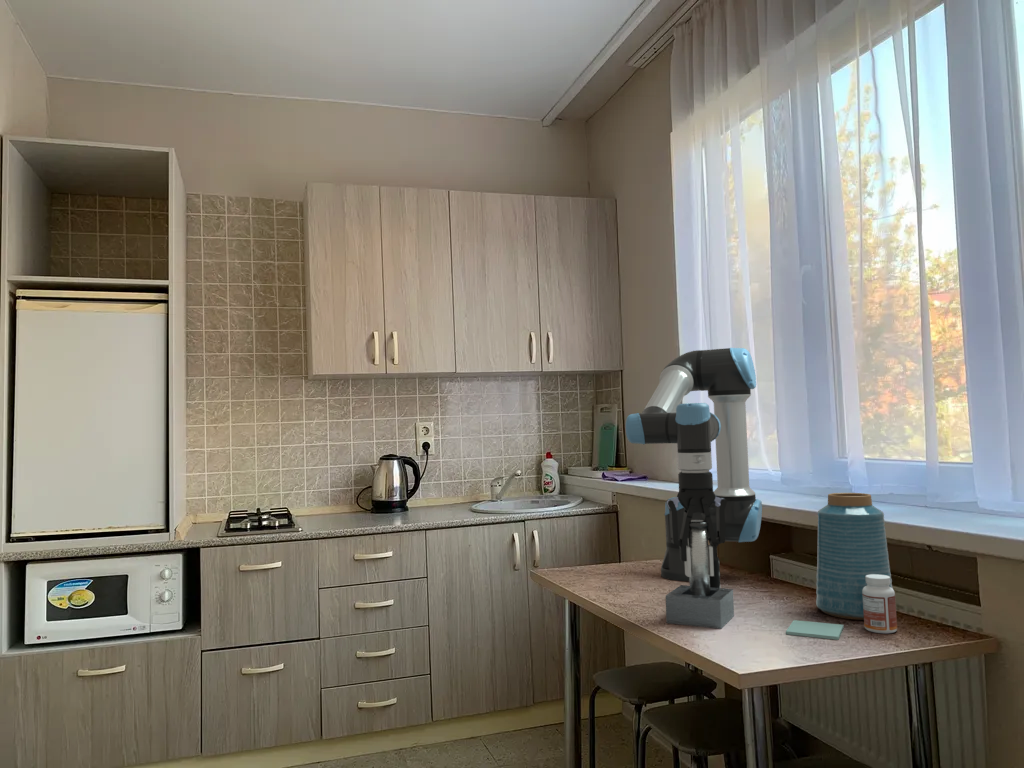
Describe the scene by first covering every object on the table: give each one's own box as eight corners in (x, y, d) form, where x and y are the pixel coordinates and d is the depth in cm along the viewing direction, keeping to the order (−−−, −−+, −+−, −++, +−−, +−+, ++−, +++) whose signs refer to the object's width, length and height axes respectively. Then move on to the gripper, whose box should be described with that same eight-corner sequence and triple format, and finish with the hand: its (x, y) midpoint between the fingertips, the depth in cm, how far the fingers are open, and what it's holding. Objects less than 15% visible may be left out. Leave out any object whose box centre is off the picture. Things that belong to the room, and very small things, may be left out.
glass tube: (691, 597, 168) (688, 523, 169) (686, 591, 173) (683, 520, 174) (714, 596, 168) (711, 522, 169) (708, 591, 173) (705, 519, 174)
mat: (793, 622, 165) (793, 620, 165) (843, 627, 160) (843, 624, 160) (785, 634, 156) (785, 631, 156) (838, 639, 152) (838, 636, 152)
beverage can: (721, 605, 182) (719, 555, 183) (693, 604, 184) (691, 554, 184) (720, 599, 189) (718, 550, 190) (692, 598, 190) (691, 550, 191)
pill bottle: (887, 625, 161) (884, 572, 162) (903, 633, 155) (900, 578, 156) (858, 626, 161) (855, 573, 161) (874, 634, 155) (871, 579, 155)
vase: (899, 608, 175) (893, 492, 177) (889, 625, 162) (882, 498, 163) (825, 601, 184) (819, 490, 186) (809, 615, 171) (803, 496, 172)
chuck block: (682, 610, 178) (681, 585, 178) (734, 615, 172) (733, 589, 173) (666, 623, 168) (665, 595, 168) (721, 628, 162) (720, 600, 162)
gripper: (660, 473, 168) (664, 580, 167) (738, 471, 168) (743, 577, 167) (653, 471, 175) (657, 573, 174) (728, 468, 176) (732, 570, 175)
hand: (699, 575), depth 171 cm, fingers closed on glass tube, 4 cm apart
